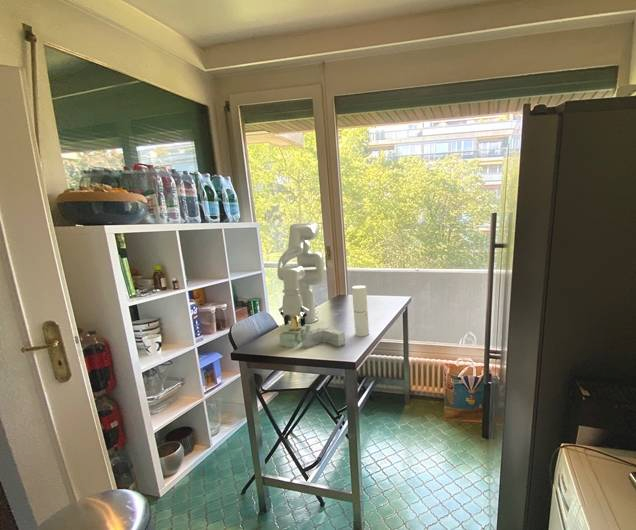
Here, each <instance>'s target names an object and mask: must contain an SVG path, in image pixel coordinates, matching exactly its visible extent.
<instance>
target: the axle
mask: <svg viewBox="0 0 636 530" xmlns="http://www.w3.org/2000/svg"><path fill="white" fill-rule="evenodd" d="M289 318H290V320H289V321H290V328H291V331H299V324H300V322H299V321H298V319H299V315H289Z"/></svg>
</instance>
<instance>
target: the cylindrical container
mask: <svg viewBox="0 0 636 530" xmlns="http://www.w3.org/2000/svg"><path fill="white" fill-rule="evenodd" d="M351 291H352V293H351V294H352V303H353V304H352V305H353V318H354V319H353V320H354V321H353V322H354V333H355V334H354V335H355V336H357V337H367V336H368V335H370V328H369V327H370V325H369V313H368V297H367V286H366V285H353V286H352V287H351Z"/></svg>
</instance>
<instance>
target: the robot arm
mask: <svg viewBox="0 0 636 530" xmlns="http://www.w3.org/2000/svg"><path fill="white" fill-rule="evenodd" d="M318 234H319V225H318V223H317V222H316V221H310V222H307V221H306V222H298V223H293V224H291V225H290V226H289V235H288V245H287V247H288V248H287V249H286V250H285V251H284V253H282V255H281V256H280V258H279V259H278V262H277V271H276V274H277V278H278V279H279V280H280V281H282V283H283V289H282V293H283V294H284V295H282V306H281V307H279V308H278V311H279V313H280V315H281V316H282V318H283V322H284V326H286V325H289V324H290V322H289V321H290V320H289V316H292V315H298V321H299V323H300V322H301V323H300V324H301V326H304V325H305V324H312V323H316V322H318V321H319V319H320V318H319V317H318V316H317V314H319V312H318V310H316V301H315V292H314V289H313V288H312V287H311V286H321V285H323V284H324V283H325V269H324V268H325V267H324V266H325V265H324V256H323V254H322V252H321V251H319V250H318V251H317V250H315V251H311V243H310V241H311V240H312V241H313V240H315V239H316V238H317V236H318ZM295 258H296V262H297V264H296V265H286V264H287V263H288V262H290V261H291V260H292V259H295ZM307 268H315V269H307Z"/></svg>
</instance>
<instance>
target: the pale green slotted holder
mask: <svg viewBox="0 0 636 530" xmlns="http://www.w3.org/2000/svg"><path fill="white" fill-rule="evenodd" d="M309 331H312V330H311V323H305V325H304V326H301V323H299V331H291V327H289V328H288V329H286V330H284V331H283V332H281V333H280V334H279V335H278V336H279V343H280V344H279V345H280V347H283V346H285V348H293V347H295V348H296V347H298V344H299V345H300V344H302V341H301V334H303V333H306V332H309Z"/></svg>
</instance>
